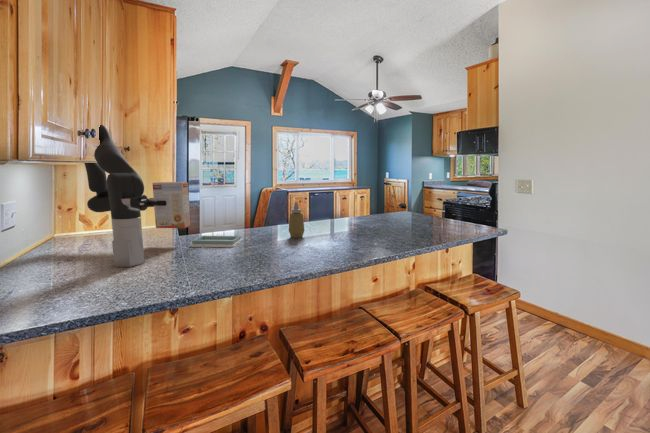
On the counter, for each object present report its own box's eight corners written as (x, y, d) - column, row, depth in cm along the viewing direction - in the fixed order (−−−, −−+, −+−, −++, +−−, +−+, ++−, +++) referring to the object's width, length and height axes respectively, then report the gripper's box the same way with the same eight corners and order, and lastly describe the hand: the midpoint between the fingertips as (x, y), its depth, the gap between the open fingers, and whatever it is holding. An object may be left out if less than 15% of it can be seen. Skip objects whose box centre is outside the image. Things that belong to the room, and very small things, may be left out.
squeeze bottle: (303, 238, 167) (303, 202, 164) (287, 238, 167) (287, 202, 165) (305, 235, 175) (304, 201, 172) (289, 235, 175) (289, 201, 173)
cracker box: (191, 226, 158) (188, 181, 155) (184, 228, 152) (181, 182, 149) (162, 226, 160) (159, 181, 157) (155, 228, 154) (151, 182, 151)
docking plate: (233, 247, 150) (233, 241, 149) (189, 246, 151) (189, 241, 150) (242, 240, 164) (242, 235, 163) (202, 240, 165) (202, 235, 164)
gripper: (123, 195, 148) (160, 195, 147) (142, 193, 162) (177, 193, 161) (125, 212, 149) (162, 212, 148) (144, 208, 163) (177, 208, 162)
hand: (169, 202), depth 155 cm, fingers closed on cracker box, 6 cm apart
